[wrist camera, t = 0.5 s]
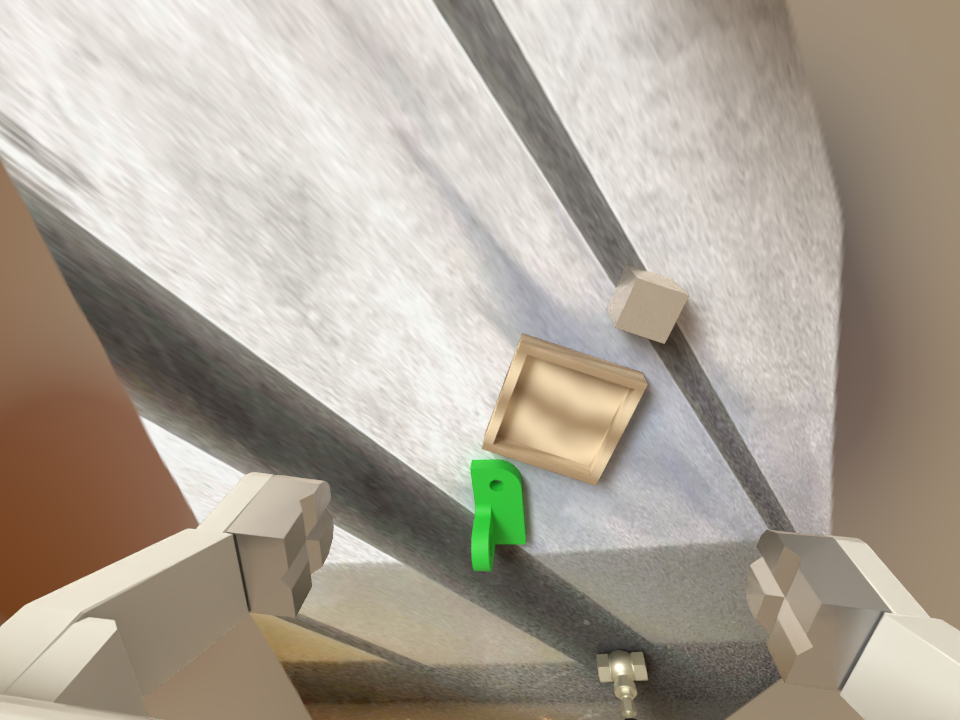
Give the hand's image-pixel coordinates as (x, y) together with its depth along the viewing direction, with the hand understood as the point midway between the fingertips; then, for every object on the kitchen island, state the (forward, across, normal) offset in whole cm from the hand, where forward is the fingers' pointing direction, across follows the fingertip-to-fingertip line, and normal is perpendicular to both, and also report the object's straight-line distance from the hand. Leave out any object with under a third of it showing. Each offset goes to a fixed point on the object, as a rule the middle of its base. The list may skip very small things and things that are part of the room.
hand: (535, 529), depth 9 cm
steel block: (+42, -11, +6) cm, 44 cm away
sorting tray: (+42, -5, +20) cm, 47 cm away
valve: (+43, -18, +60) cm, 76 cm away
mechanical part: (+43, +1, +34) cm, 55 cm away
